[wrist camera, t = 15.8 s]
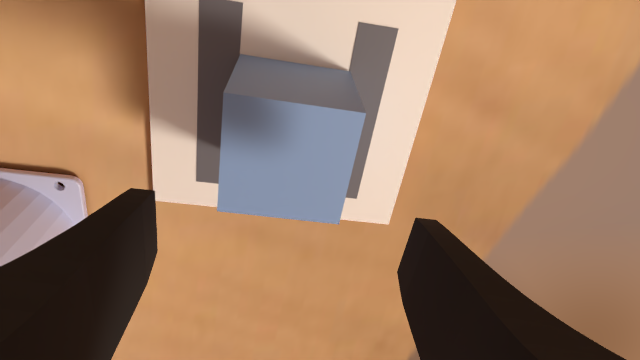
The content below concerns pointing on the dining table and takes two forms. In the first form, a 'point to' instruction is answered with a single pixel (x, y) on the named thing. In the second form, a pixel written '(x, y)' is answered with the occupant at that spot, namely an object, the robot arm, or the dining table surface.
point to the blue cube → (288, 140)
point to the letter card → (299, 47)
